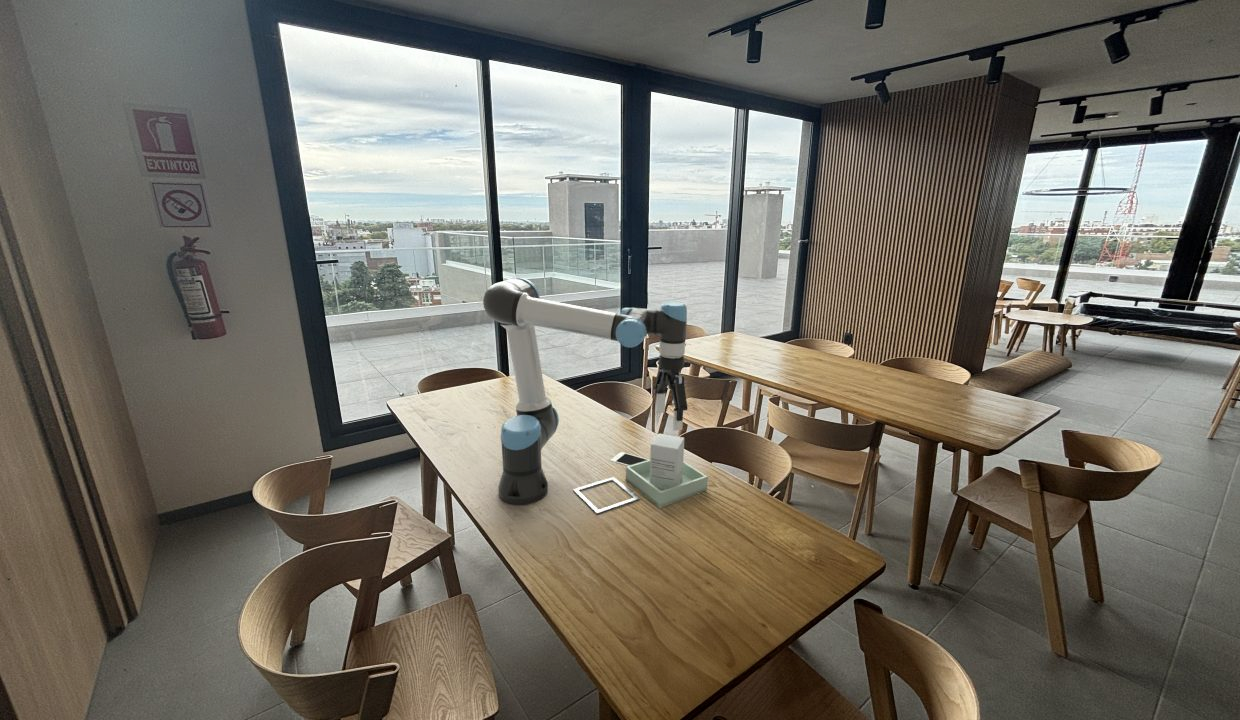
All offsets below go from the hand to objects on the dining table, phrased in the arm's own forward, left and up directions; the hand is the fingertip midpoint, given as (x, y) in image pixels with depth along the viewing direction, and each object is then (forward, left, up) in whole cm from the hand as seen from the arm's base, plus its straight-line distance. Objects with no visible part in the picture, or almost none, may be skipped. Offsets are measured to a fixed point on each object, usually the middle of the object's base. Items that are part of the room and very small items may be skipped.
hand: (668, 420), depth 152 cm
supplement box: (0, 0, -22) cm, 22 cm away
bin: (0, 0, -23) cm, 23 cm away
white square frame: (-19, +5, -23) cm, 30 cm away
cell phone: (+1, +18, -23) cm, 29 cm away
